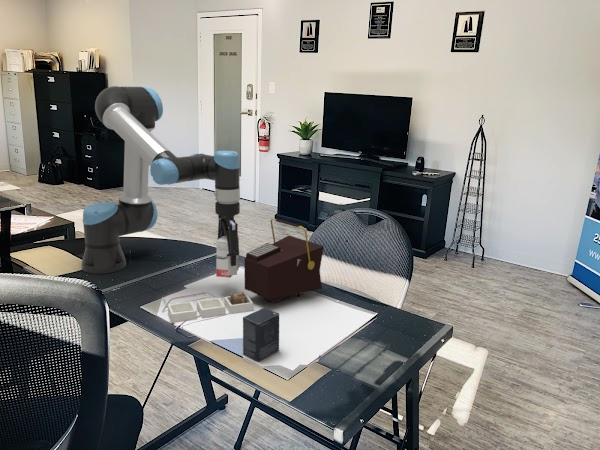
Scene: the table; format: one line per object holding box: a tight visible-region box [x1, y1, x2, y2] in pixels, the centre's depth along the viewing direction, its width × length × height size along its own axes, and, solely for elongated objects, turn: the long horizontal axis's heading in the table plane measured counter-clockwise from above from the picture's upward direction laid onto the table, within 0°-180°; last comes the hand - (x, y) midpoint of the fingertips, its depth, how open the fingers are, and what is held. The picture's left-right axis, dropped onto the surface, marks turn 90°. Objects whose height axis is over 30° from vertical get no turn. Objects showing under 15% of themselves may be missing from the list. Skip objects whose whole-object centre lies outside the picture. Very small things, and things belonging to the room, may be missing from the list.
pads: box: [161, 297, 168, 308], centre depth 160 cm, size 7×24×1 cm, turn 113°
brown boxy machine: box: [244, 218, 325, 304], centre depth 159 cm, size 16×23×25 cm
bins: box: [167, 293, 254, 325], centre depth 149 cm, size 7×24×3 cm, turn 113°
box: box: [242, 307, 280, 363], centre depth 126 cm, size 8×6×11 cm
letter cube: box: [229, 291, 247, 305], centre depth 152 cm, size 4×4×4 cm
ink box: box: [215, 235, 240, 278], centre depth 159 cm, size 9×5×12 cm, turn 168°
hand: (228, 269), depth 160 cm, fingers closed on ink box, 9 cm apart
